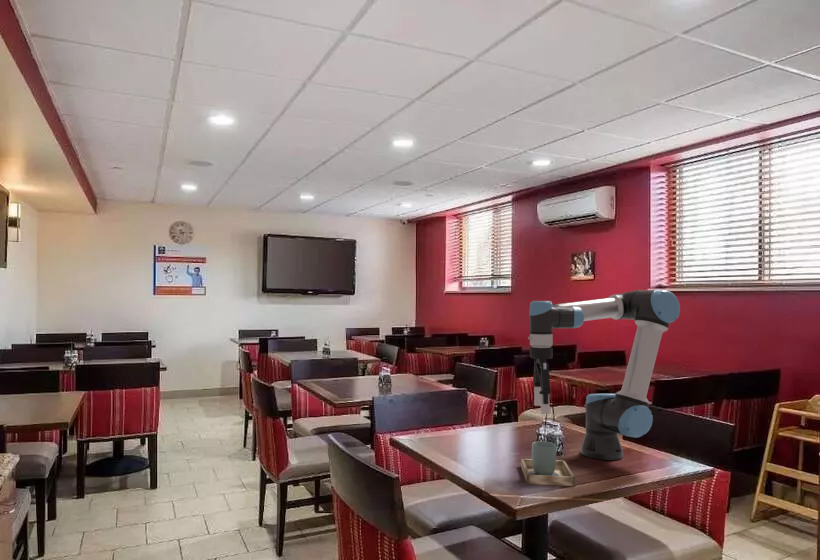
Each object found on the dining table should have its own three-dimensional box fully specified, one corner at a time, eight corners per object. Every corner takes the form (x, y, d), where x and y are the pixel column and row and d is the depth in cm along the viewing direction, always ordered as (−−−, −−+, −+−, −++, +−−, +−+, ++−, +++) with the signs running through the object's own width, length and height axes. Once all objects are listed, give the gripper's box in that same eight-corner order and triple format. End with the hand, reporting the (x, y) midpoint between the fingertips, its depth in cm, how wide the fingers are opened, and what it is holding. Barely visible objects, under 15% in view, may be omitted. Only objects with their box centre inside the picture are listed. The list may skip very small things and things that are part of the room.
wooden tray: (564, 469, 198) (564, 460, 198) (574, 487, 179) (575, 477, 179) (520, 467, 199) (520, 458, 199) (526, 485, 181) (526, 475, 181)
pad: (556, 471, 194) (556, 470, 194) (561, 480, 184) (561, 479, 184) (526, 470, 195) (526, 469, 195) (529, 479, 185) (529, 478, 185)
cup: (552, 471, 193) (552, 441, 193) (558, 478, 185) (558, 447, 185) (529, 471, 193) (529, 441, 193) (534, 478, 185) (534, 447, 185)
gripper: (524, 343, 207) (525, 402, 206) (535, 350, 182) (536, 417, 181) (545, 343, 206) (546, 402, 206) (559, 350, 182) (560, 417, 181)
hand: (541, 409), depth 194 cm, fingers open, 13 cm apart
